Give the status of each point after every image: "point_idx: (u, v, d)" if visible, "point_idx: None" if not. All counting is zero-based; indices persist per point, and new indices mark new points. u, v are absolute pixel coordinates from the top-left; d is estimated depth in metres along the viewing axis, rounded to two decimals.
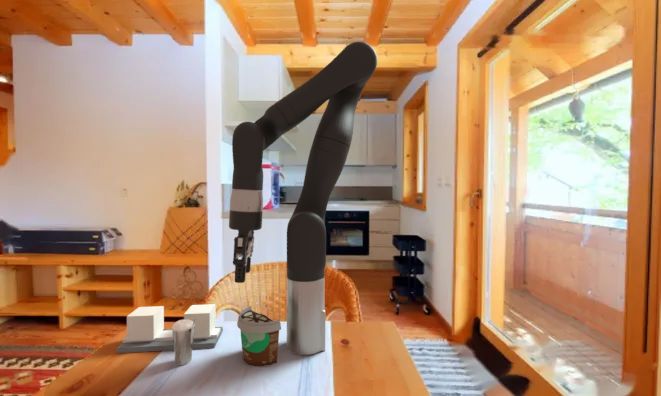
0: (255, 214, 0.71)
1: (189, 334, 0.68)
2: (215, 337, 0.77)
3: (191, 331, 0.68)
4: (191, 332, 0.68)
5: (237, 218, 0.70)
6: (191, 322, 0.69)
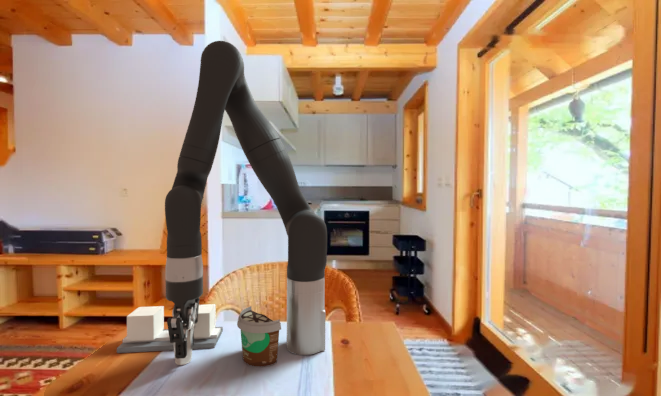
0: (192, 283, 0.66)
1: (189, 334, 0.68)
2: (215, 337, 0.77)
3: (191, 331, 0.68)
4: (191, 332, 0.68)
5: (172, 289, 0.65)
6: (191, 322, 0.69)
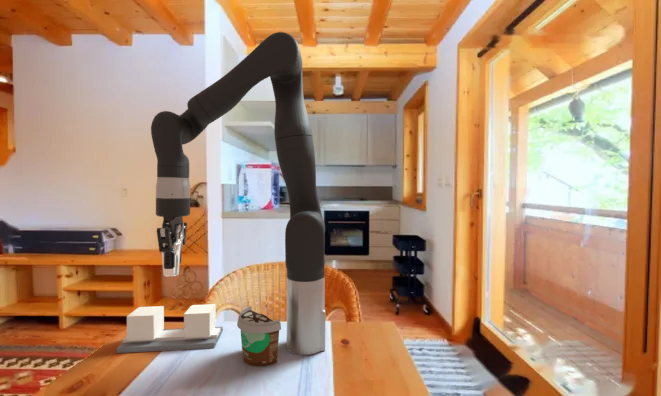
0: (180, 201, 0.73)
1: (176, 249, 0.75)
2: (215, 337, 0.77)
3: (178, 247, 0.75)
4: (178, 248, 0.75)
5: (161, 205, 0.72)
6: (178, 239, 0.76)
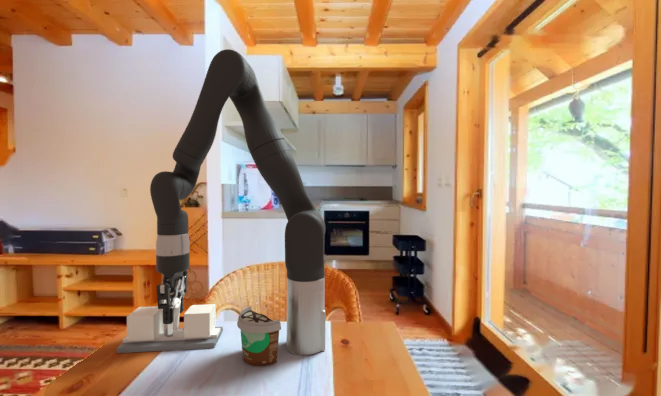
0: (179, 257, 0.75)
1: (175, 309, 0.76)
2: (215, 337, 0.77)
3: (177, 307, 0.77)
4: (177, 308, 0.77)
5: (161, 262, 0.74)
6: (178, 299, 0.78)
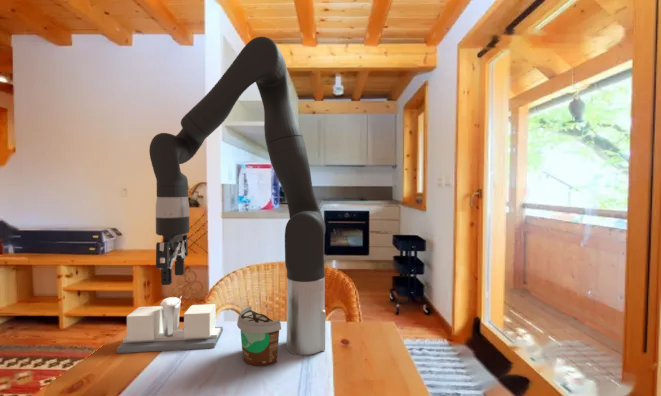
0: (179, 219, 0.75)
1: (175, 310, 0.76)
2: (215, 337, 0.77)
3: (177, 307, 0.77)
4: (177, 308, 0.77)
5: (161, 224, 0.74)
6: (178, 299, 0.78)
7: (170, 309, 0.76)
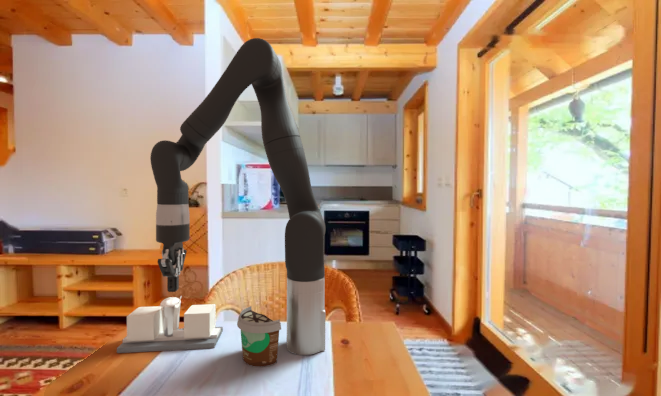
0: (179, 227, 0.75)
1: (175, 310, 0.76)
2: (215, 337, 0.77)
3: (177, 307, 0.77)
4: (177, 308, 0.77)
5: (161, 232, 0.74)
6: (178, 299, 0.78)
7: (170, 309, 0.76)
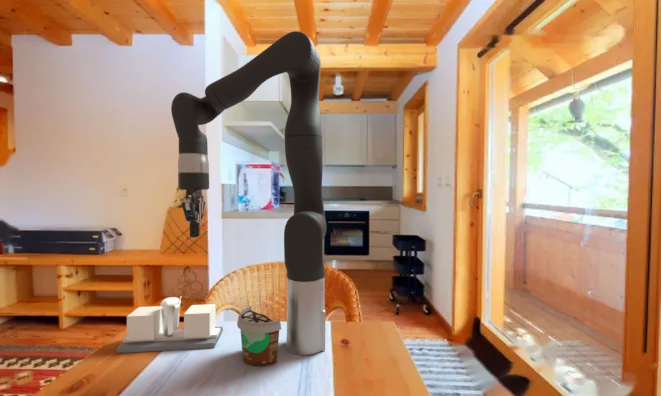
0: (200, 174, 0.80)
1: (175, 310, 0.76)
2: (215, 337, 0.77)
3: (177, 307, 0.77)
4: (177, 308, 0.77)
5: (184, 178, 0.79)
6: (178, 299, 0.78)
7: (170, 309, 0.76)
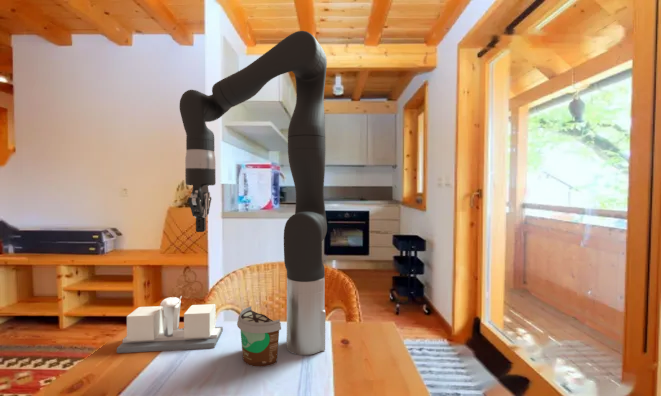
0: (207, 170, 0.81)
1: (175, 310, 0.76)
2: (215, 337, 0.77)
3: (177, 307, 0.77)
4: (177, 308, 0.77)
5: (191, 174, 0.80)
6: (178, 299, 0.78)
7: (170, 309, 0.76)
